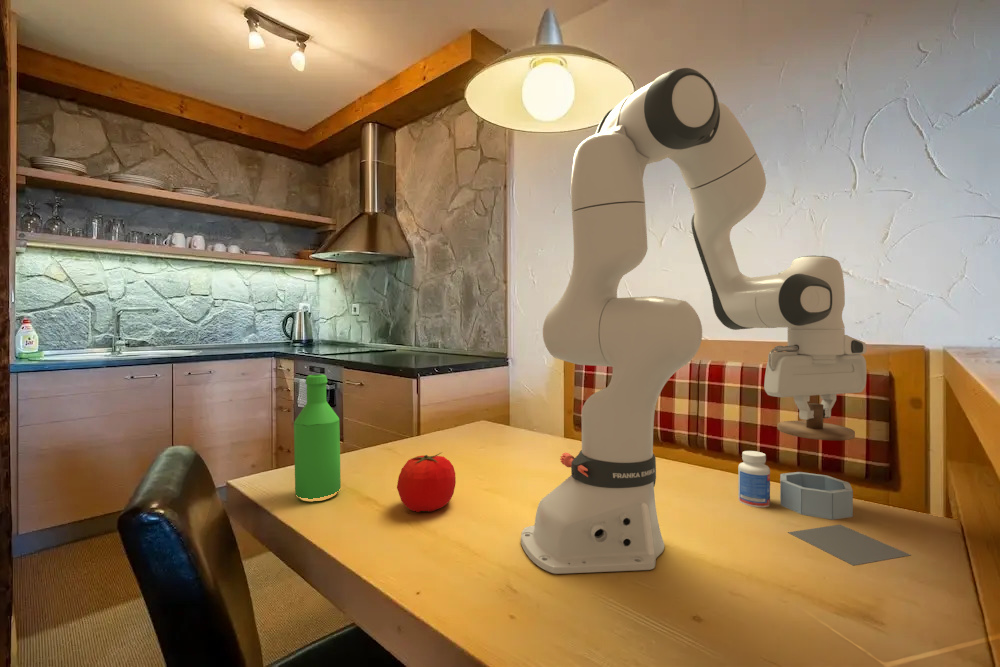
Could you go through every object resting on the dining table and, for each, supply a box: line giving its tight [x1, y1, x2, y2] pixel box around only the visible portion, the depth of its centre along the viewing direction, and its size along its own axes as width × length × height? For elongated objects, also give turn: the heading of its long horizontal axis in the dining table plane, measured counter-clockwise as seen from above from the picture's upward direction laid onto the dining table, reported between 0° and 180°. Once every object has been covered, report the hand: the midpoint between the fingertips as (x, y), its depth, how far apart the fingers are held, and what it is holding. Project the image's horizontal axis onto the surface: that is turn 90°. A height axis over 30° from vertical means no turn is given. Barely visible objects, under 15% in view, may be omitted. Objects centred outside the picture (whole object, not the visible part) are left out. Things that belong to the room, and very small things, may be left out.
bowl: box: [779, 471, 854, 521], centre depth 88 cm, size 11×11×5 cm
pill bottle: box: [737, 450, 771, 508], centre depth 90 cm, size 6×5×10 cm
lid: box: [776, 402, 856, 441], centre depth 88 cm, size 12×12×5 cm
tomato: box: [396, 452, 456, 513], centre depth 91 cm, size 11×13×10 cm
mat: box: [787, 524, 912, 566], centre depth 73 cm, size 11×11×1 cm
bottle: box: [293, 373, 342, 499], centre depth 97 cm, size 9×9×25 cm
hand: (815, 418), depth 88 cm, fingers closed on lid, 3 cm apart
